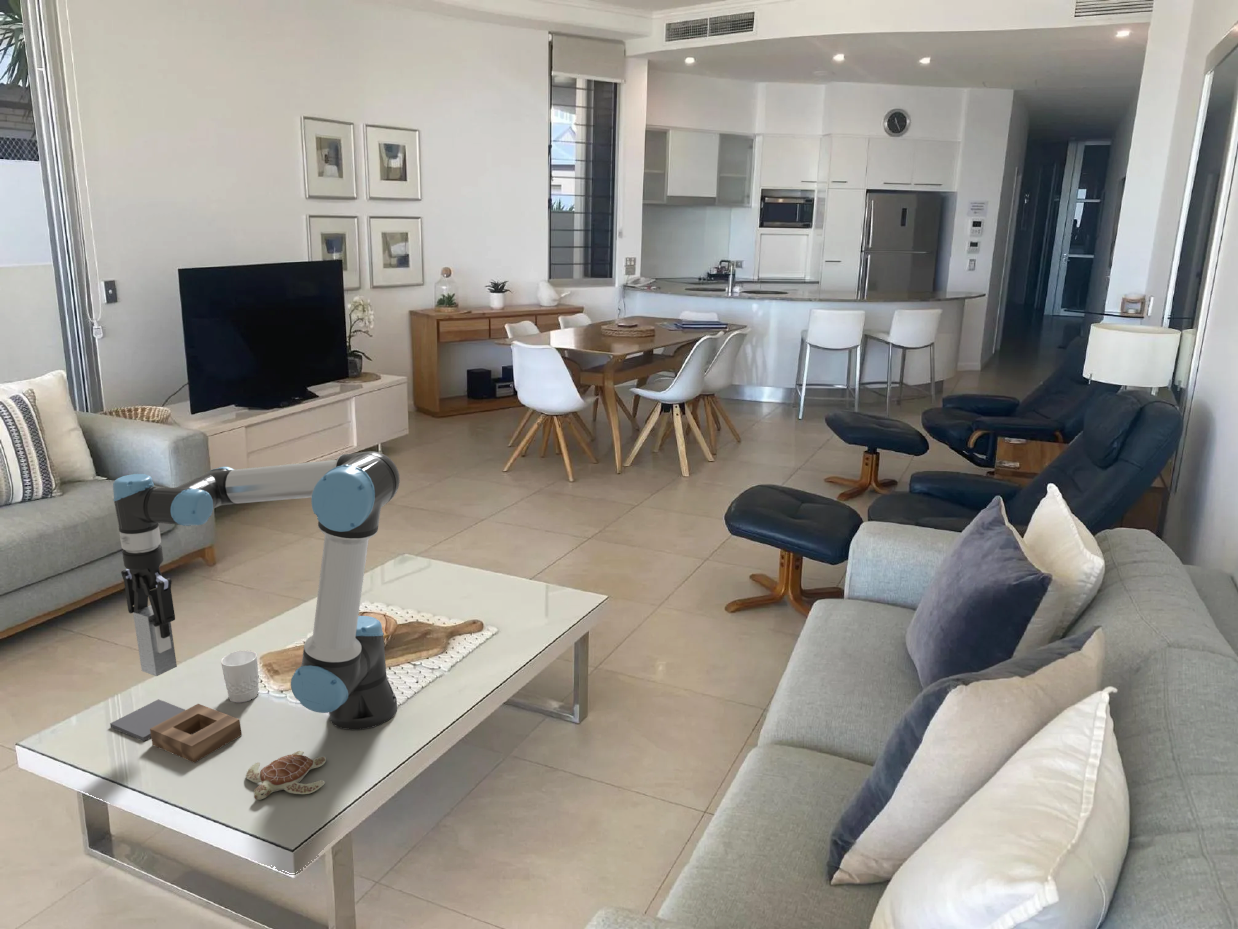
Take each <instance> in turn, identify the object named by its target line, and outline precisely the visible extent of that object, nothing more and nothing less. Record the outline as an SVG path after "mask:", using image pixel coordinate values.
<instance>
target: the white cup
mask: <svg viewBox="0 0 1238 929" xmlns="http://www.w3.org/2000/svg"><path fill="white" fill-rule="evenodd" d="M220 663H221V668H222V673H223V679H224V683H225V688H226V690H227V695H228V699H229V701H230V702H232V703H235V704H236V703H238V704H239V703H247V702H249V701H252V700H254V699H255V697H256V696H257V694H258V691H259V692H260V688H259V683H260V682H259V681H260V680H259V667H258V665H259V664H258V655H257V652H255V651H252V650H236V651H233V652H230V653H228V654H226V655H224V656H223V657H222V658H221V660H220ZM258 695H259V694H258ZM257 697H258V696H257ZM257 697H256V698H257ZM251 699H252V700H251Z"/></svg>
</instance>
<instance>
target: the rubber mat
mask: <svg viewBox="0 0 1238 929" xmlns="http://www.w3.org/2000/svg"><path fill="white" fill-rule="evenodd" d="M185 710H186V709H185V708H182V707H179V706H177V705H175V704H173V703H172V704H171V703H169V702H166V701H164V700H162V699H156V700H154V701H152V702H150V703H148V704H146V705H144V706H142V707H140V708H138V709H136V710H134V711H133V712H130V713H128V714H126V715H124V716H122V717H120V718H118V719H115V720H114V721H112V722H110V723H109V724H110V726H109V727H110V728H111V729H114V730H115V731H118V732H121V733H124V734H125V735H128V736H130V737H131V738H135V739H137V740H140V741H142V742H146V741H148V740H149V739H151V733H150V728H152V727H154V726H156V725H158V724H160V723H162V722H164V721H166V720H168V719H170V718H172V717H173V716H175V715H177V714H179V713H181V712H183V711H185ZM145 740H146V741H145Z"/></svg>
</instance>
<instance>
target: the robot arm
mask: <svg viewBox="0 0 1238 929" xmlns="http://www.w3.org/2000/svg"><path fill="white" fill-rule="evenodd" d="M400 479H401V478H400V471H399V469H398V467H397V465H396V463H395V462H394V461H393V460H392V458H390V457H389V456H388V455H386V454H383V453H381V452H379V451H375V450H374V451H371V450H370V451H363V452H362V451H360V452H354V453H346V454H341V455H339V456H338V457H337V459H334V460H333V459H331V460H323V461H311V462H310V461H309V462H301V463H300V462H299V463H290V464H281V465H280V464H278V465H270V466H259V467H248V468H239V469H237V468H235V469H234V468H232V467H230V466H220V467H218V468H214V469H213V468H212V469H210V470H209V471H207V472H205V473H203V474H201V475H200V476H198V477H196V478H193V479H191V480H189V481H187V482H184V483H183V484H181V485H179V486H176V487H175V486H174V487H163V486H155V485H154V484H155V483H154V482H153V477H152V476H151V475H148V474H145V473H134V474H133V473H132V474H128V475H123V476H120V477H117V478H116V479H115V480H114V481H113V484H112V492H113V493H112V494H113V500H112V501H113V503H114V508H115V513H116V518H117V524H118V532H119V538H120V539H119V542H120V546H121V549H123V550H122V552H121V554H122V559H123V566H124V568H125V569H124V570H121V572H120V574H121V576H122V579H123V584H124V589H125V597H126V605H127V611H128V613H129V614H133V612H134V611H137V610H139V609H142V608H144V607H147V606H149V603H150V605H151V607H152V610H153V613H154V616H155V620H156V623H155V624H153V625H154V627H155V634H156V641H157V648H158V652H159V653H162V652H164V651H166V650H168V649H170V648H171V642H170V630H169V622H171V623H172V622H173V621H175V620H176V615H175V613H176V612H175V608H174V600H173V595H172V594H173V593H172V584H173V583H172V579H171V577H168V578H165V577H163V576H162V572H161V568H160V566H161V565H162V563H163V562H164V553H163V547H162V545H161V544H162V537H161V530H160V526H159V524H167V525H168V524H169V525H179V526H183V527H190V526H202V525H204V524H206V523H207V522H208V521H209V518H210V517H211V516H212V514H213V511H214V509H215V508H218V507H220V506H226V505H227V506H228V505H235V504H236V505H237V504H246V503H258V502H259V503H260V502H272V501H283V500H284V501H285V500H294V499H308V498H309V499H310V498H311V509H312V512H313V514H314V515H316V517H317V521H318V523H317V528H318V530H319V531H320V532H321V533H323V535H324V539H323V549H322V556H321V557H322V558H321V564H320V572H319V580H318V590H317V596H316V597H317V599H316V605H315V607H316V608H315V615H314V624H313V631H312V635H311V636H309V637H308V638H307V639H306V640H305V641H304V645H303V652H302V659H301V660H302V661H301V664H300V666H299V667H298V668H297V669H295V672H294V673H293V675H292V677H291V679H290V688H291V692H292V694H293V696H294V698H295V699H296V700H297V701H298V702H299V703H300V704H301V705H302V706H303V707H304V708H306V709H308V710H309V711H311V712H313V713H314V712H315V713H319V714H327V713H328V715H329V721H330V722H331V724H332V725H333V726H334V727H337V728H340V729H344V730H348V731H349V730H351V731H352V730H353V731H355V730H356V731H357V730H367V729H371V728H374V727H378V726H380V725H383V724H385V723H386V722H388V721H389V720H390V719H392V718H393V717H394V715H395V714H396V713H397V710H398V703H397V702H398V701H397V697H396V694H395V693H394V691H393V688H392V686H391V684H390V682H389V680H388V677H387V667H386V666H387V664H386V663H387V662H386V655H385V653H386V652H385V651H386V650H385V641H384V635H385V634H384V632H383V627H382V622H381V621H380V620H379V619H377V618H376V617H373V616H369V615H359V614H360V613H359V612H360V606H361V598H362V592H363V584H364V577H365V569H366V568H365V567H366V561H367V555H368V546H369V540H370V539H371V538H373V537H375V536H376V534H377V533H378V530H379V523H380V517H381V510H382V507H384V506H385V505H387V503H389V502H390V501H392V500H393V498H394V497H395V496H396V494H397V492H398V490H399V487H400V482H401V481H400Z"/></svg>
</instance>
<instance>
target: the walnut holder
mask: <svg viewBox="0 0 1238 929" xmlns="http://www.w3.org/2000/svg"><path fill="white" fill-rule="evenodd" d="M150 733H151V738H150V739H151V744H152V746H154V747H156V748H158V749H161V750H164V751H165V750H166V751H165V752H168V753H170V754H172V753H173V754H172V755H175V756H178V757H179V756H180V758H182V759H184V760H187V761H188V762H191V763H194V764H195V763H196V762H199V761H200V760H202V759H203V758H206V757H207V756H209V755H210V754H212V753H214V752H215V751H218V750H219V749H222V747H224V746H226V745H228V744H229V743H231V742H233V741H235V740H236V739H238V738H240V737H241V736H243V734H242V727H241V719H240V718H237V717H234V716H233V715H232V716H231V715H229V714H226V713H224V712H221V711H219V710H216V709H213V708H211V707H208V706H206V705H203V704H200V703H197V704H194V705H193V706H191V707H189V708H187V709H185V711H183V712H181V713H179V714H177V715H175V716H173V717H172V718H170V719H168V720H166V721H164V722H162V723H160V724H158V725H156V726H154V727H152V728H150Z"/></svg>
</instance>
